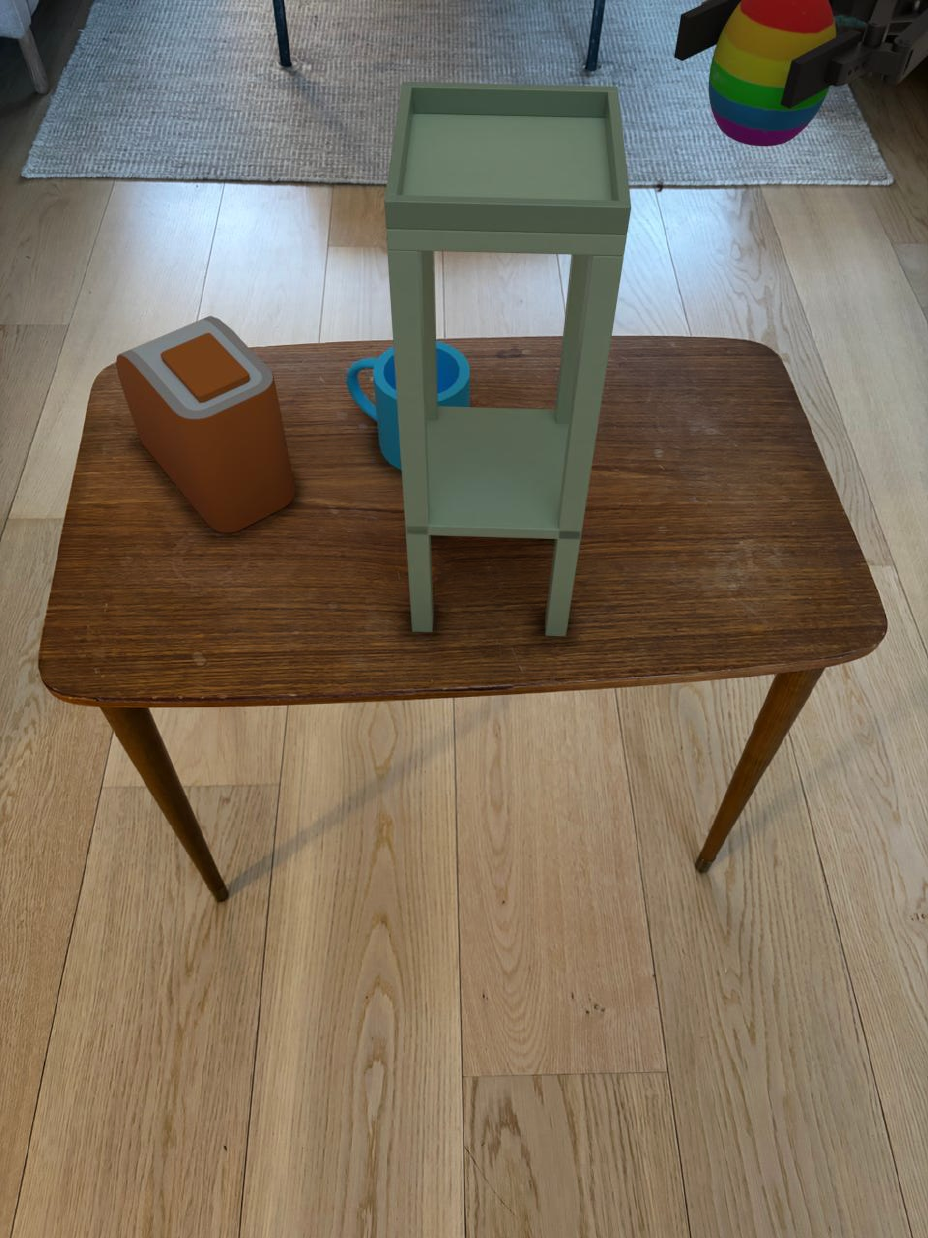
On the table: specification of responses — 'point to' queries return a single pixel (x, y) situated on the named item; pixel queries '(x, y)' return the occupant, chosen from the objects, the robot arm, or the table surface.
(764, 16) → the decorative egg
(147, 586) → the table surface
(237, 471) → the alarm clock
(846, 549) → the table surface
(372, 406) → the mug
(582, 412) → the stand
